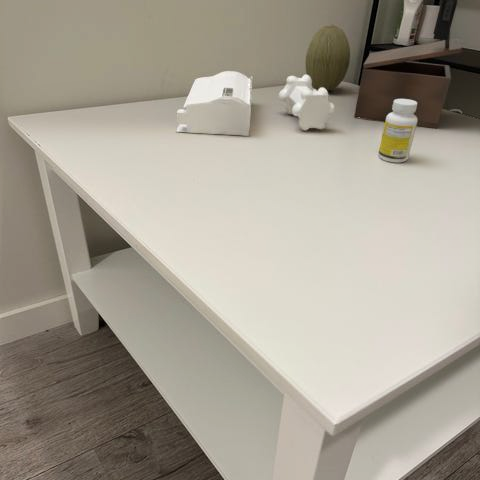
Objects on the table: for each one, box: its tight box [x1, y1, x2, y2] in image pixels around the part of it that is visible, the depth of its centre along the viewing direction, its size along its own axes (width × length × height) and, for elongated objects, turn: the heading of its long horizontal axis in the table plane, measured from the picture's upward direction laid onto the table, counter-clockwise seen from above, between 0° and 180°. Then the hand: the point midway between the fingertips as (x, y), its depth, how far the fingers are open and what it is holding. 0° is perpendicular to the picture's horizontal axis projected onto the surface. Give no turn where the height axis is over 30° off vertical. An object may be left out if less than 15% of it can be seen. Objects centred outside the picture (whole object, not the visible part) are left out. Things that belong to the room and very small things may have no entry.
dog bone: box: [278, 73, 336, 132], centre depth 101 cm, size 15×9×8 cm, turn 10°
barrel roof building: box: [176, 70, 254, 137], centre depth 102 cm, size 25×15×7 cm, turn 179°
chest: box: [353, 61, 452, 130], centre depth 109 cm, size 18×15×10 cm
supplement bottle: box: [378, 99, 417, 164], centre depth 85 cm, size 5×5×10 cm
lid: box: [363, 30, 463, 68], centre depth 102 cm, size 19×15×9 cm
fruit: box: [305, 24, 351, 92], centre depth 123 cm, size 11×11×15 cm
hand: (440, 36), depth 101 cm, fingers closed on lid, 7 cm apart
